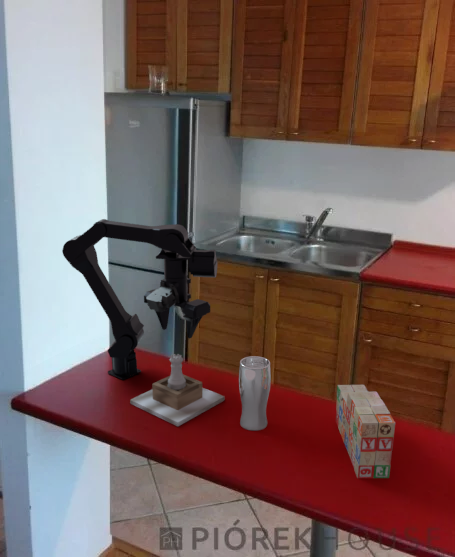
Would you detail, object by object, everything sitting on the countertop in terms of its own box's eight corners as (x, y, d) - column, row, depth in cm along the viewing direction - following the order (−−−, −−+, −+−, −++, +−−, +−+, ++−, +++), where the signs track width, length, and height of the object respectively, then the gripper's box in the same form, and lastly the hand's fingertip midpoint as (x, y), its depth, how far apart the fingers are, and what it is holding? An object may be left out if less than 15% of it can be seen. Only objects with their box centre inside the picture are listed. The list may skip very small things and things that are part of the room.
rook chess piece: (179, 392, 134) (178, 361, 132) (163, 388, 136) (162, 357, 134) (189, 385, 138) (189, 354, 135) (174, 381, 140) (174, 350, 138)
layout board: (130, 403, 137) (129, 384, 136) (177, 380, 149) (177, 363, 147) (177, 426, 127) (177, 406, 126) (224, 400, 139) (224, 381, 138)
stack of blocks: (334, 421, 130) (337, 371, 127) (362, 421, 130) (366, 371, 127) (357, 479, 110) (362, 422, 106) (390, 479, 110) (395, 421, 106)
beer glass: (275, 423, 129) (277, 362, 125) (255, 435, 124) (256, 372, 120) (252, 412, 133) (253, 353, 129) (231, 423, 128) (232, 362, 124)
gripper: (126, 275, 144) (129, 333, 148) (179, 290, 132) (180, 352, 136) (159, 266, 152) (160, 322, 156) (211, 279, 140) (211, 339, 145)
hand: (176, 333), depth 148 cm, fingers open, 9 cm apart
